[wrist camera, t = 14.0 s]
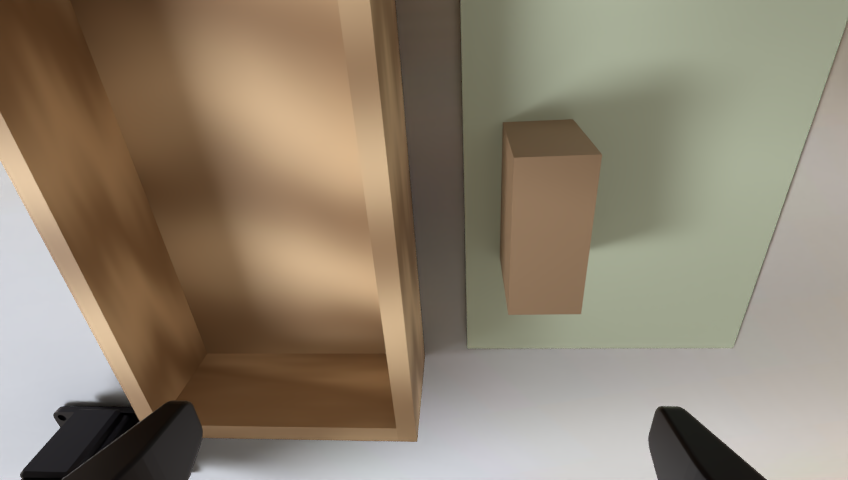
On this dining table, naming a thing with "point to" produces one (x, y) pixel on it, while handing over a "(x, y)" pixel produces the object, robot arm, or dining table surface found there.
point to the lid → (630, 162)
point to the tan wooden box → (227, 203)
